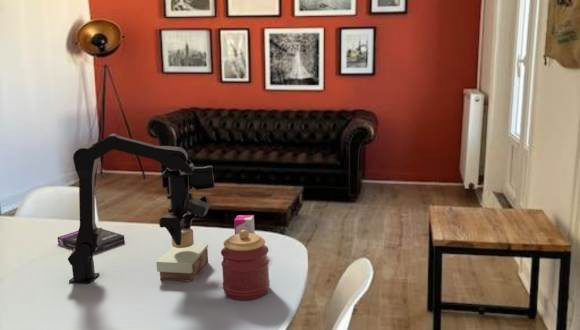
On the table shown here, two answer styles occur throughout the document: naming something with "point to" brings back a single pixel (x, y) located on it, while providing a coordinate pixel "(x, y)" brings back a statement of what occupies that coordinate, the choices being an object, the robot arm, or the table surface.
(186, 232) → the dome push button
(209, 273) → the table surface
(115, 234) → the box
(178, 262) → the lid
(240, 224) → the supplement box
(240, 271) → the canister
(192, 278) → the walnut box
